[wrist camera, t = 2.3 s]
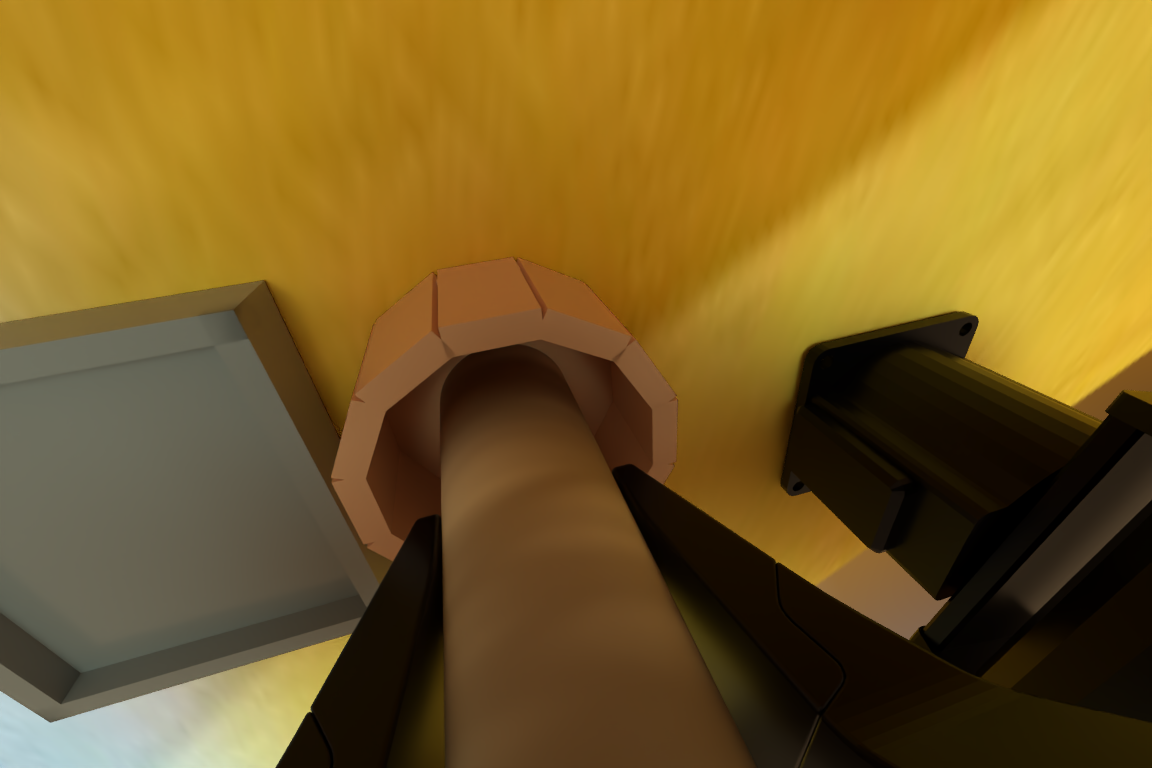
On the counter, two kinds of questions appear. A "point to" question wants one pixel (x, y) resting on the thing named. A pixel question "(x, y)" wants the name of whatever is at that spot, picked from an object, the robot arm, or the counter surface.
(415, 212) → the counter surface
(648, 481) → the robot arm
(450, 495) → the pin
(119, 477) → the tray
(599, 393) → the terracotta faceted bowl
